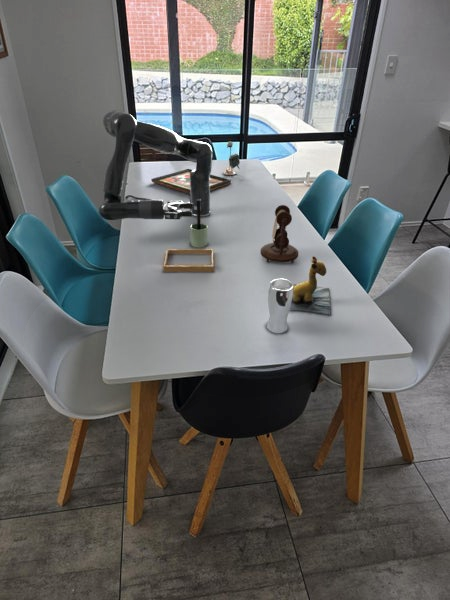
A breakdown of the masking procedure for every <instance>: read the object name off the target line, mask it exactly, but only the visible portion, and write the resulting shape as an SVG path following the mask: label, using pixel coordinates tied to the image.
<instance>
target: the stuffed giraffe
mask: <svg viewBox="0 0 450 600" xmlns="http://www.w3.org/2000/svg"><path fill="white" fill-rule="evenodd" d="M311 258H312V259H311V265H310V268H309V271H308V280H307V281H304V282H300V283H298V284H294V283H293V285H294V287H293V300H292V305H291V308H290V310H292V311H303V312H310V313H318V314H324V315H329V316H331V303H330V301H331V299H330V292H329V291H330V289H329V287H318V280H317V274H318V275H320V276H321V277H325V276H326V274H327V268H326V265H325V263H324V262H323V261H321V260H320V261H319V260H318V258H317V257H316V256H315V255H314V256H312V257H311Z"/></svg>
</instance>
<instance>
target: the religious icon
mask: <svg viewBox="0 0 450 600" xmlns="http://www.w3.org/2000/svg"><path fill="white" fill-rule="evenodd" d="M193 170H194V169H190V168H185V169H181V170H179V171H176V172H172V173H171V172H170V173H169V174H165V175H161V176H157V177H154V178H151V182H152V183H154V184H157V185H160V186H163V187H166V188H169V189H173V190H175V191H178V192H182V193H185V194H188V195H189V194H190V172H191V171H193ZM231 183H232V180H231V179H228V178H225V177H223V176H218V175H214V174H210V192H211V191H215V190H216V189H219V188H222V187H224V186H227V185H231Z"/></svg>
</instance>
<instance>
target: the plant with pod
mask: <svg viewBox="0 0 450 600" xmlns="http://www.w3.org/2000/svg"><path fill="white" fill-rule="evenodd" d="M233 144H234V142H233V141H231V140H228V142H227V144H226V149H228V148H229V158H228V163H229V168H226V169H225V171H224V170H223V172H222V173H223V174H224V175H225V176H226V175H227V176H230V175H235V174H237V172H235V171H234V169H235V168H236V167H237V168H238V170H241V168H240V166H239V165H240V161H241V160H240V154H238V153H234V154H232V148H233Z"/></svg>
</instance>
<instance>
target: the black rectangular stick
mask: <svg viewBox="0 0 450 600" xmlns="http://www.w3.org/2000/svg"><path fill="white" fill-rule="evenodd" d="M201 218H202V217H201V214H200V199H197V217H196V223H197V230H201V223H202V222H201V221H202V219H201Z"/></svg>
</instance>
